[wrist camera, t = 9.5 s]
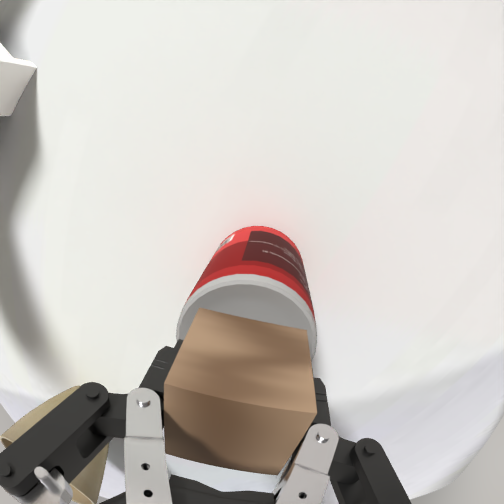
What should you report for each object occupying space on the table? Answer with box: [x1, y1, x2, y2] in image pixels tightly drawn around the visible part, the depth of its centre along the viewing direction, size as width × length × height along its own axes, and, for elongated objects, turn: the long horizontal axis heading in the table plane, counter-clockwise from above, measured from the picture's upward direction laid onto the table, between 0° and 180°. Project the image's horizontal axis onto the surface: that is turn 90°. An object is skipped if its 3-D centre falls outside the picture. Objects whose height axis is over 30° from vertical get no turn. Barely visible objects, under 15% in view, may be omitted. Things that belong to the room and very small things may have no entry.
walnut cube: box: [164, 307, 317, 475], centre depth 11 cm, size 5×5×5 cm
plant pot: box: [0, 386, 109, 504], centre depth 27 cm, size 15×15×16 cm
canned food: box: [176, 226, 317, 361], centre depth 20 cm, size 8×8×11 cm
